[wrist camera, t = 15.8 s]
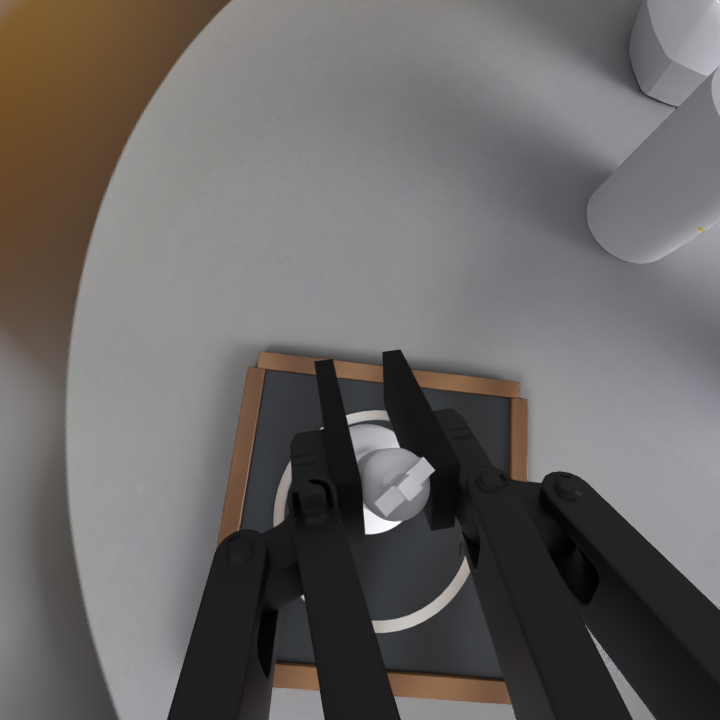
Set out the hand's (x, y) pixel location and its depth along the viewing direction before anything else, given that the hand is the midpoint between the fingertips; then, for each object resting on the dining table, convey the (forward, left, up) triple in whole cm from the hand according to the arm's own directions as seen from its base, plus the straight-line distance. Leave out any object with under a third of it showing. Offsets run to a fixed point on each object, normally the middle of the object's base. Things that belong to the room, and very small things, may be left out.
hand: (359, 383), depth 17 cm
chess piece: (+1, -4, -3) cm, 5 cm away
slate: (+3, -6, -13) cm, 15 cm away
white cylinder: (+23, +20, -13) cm, 33 cm away
